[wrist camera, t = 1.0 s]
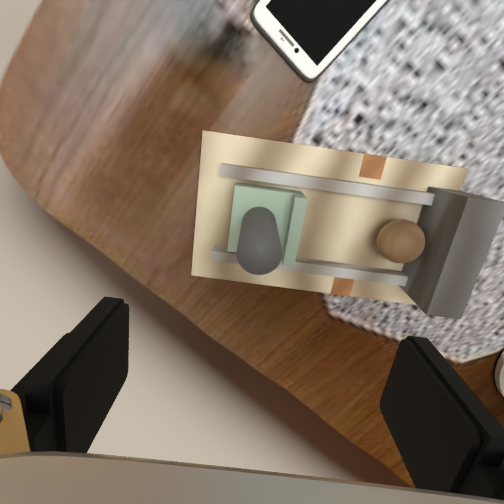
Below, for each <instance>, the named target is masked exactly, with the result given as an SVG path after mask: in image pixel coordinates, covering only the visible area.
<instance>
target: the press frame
mask: <svg viewBox="0 0 504 504" xmlns="http://www.w3.org/2000/svg"><path fill="white" fill-rule="evenodd" d="M467 170H468V169H466V168H459V167H452V166H445V165H438V164H432V163H425V162H418V161H411V160H404V159H397V158H390V157H383V156H376V155H369V154H362V153H355V152H348V151H341V150H334V149H328V148H321V147H314V146H307V145H300V144H293V143H286V142H279V141H272V140H265V139H258V138H251V137H244V136H237V135H230V134H224V133H217V132H210V131H203V134H202V147H201V159H200V172H199V185H198V197H197V210H196V222H195V235H194V247H193V260H192V272H191V275H193V276H201V277H208V278H216V279H223V280H231V281H239V282H246V283H254V284H261V285H269V286H276V287H284V288H292V289H299V290H307V291H314V292H322V293H330V294H334V295H342V296H349V297H350V296H352V297H360V298H368V299H375V300H383V301H390V302H398V303H406V304H413V305H418V306H419V307H420V308H421V310H422V311H423V312H424V313H425V314H426V315H433V316H441V317H448V318H456V319H461V318H462V315H463V313H464V310H465V308H466V305H467V303H468V300H469V298H470V295H471V293H472V290H473V288H474V285H475V283H476V280H477V278H478V275H479V273H480V270H481V268H482V265H483V263H484V261H485V258H486V256H487V253H488V251H489V248H490V246H491V243H492V241H493V238H494V236H495V233H496V231H497V228H498V226H499V223H500V221H501V218H502V216H503V213H504V202H501V201H497V200H494V199H490V198H486V197H482V196H478V195H474V194H470V193H466V192H463V191H460V190H461V187H462V184H463V181H464V178H465V176H466V173H467ZM236 182H239V183H246V184H253V185H260V186H268V187H275V188H282V189H289V190H296V191H302V193H303V194H304V195H305V196H306V198H307V204H306V209H305V215H304V220H303V225H302V230H301V235H300V240H299V245H298V251H297V256H296V261H295V266H294V267H287V266H283V264H282V259H281V262H280V264H279V265H278V267H277V268H276V269H275V270H273V271H272V272H270V273H268V274H264V275H254V274H251V273H249V272H247V271H245V270H244V269H243V268H242V267H241V266H240V264H239V263H238V260H237V256H236V252H228V251H227V249H228V241H229V232H230V224H231V215H232V207H233V198H234V190H235V184H236Z"/></svg>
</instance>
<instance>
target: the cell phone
mask: <svg viewBox="0 0 504 504" xmlns="http://www.w3.org/2000/svg"><path fill="white" fill-rule="evenodd" d="M388 1H389V0H257V2H256V3H255V4H254V6H253V8H252V10H251V20H252V23H253V24H254V26H255V27H256V29H257V30H258V31H259V32H260V33H261V34H262V36H263V37H264V38H265V39H266V40H267V41H268V42H269V43H270V44H271V46H272V47H273V48H274V49H275V50H276V51H277V52H278V53H279V55H280V56H281V57H282V58H283V59H284V60H285V61H286V62H287V64H288V65H289V66H290V67H291V68H292V69H293V70H294V71H295V73H296V74H297V75H298V76H299V77H300V78H301V79H302V80H304V81H305V82H308V83H311V82H313V81H315V80H316V79H317V78H318V77H319V76H320V75H321V74H322V73H323V72H324V71H325V70H326V69H327V68H328V67H329V66H330V65H331V64H332V62H333V61H334V60H335V59H336V58H337V57H338V56H339V55H340V54H341V53H342V52H343V50H344V49H345V48H346V47H347V46H348V45H349V44H350V43H351V42H352V41H353V40H354V38H356V36H357V35H358V34H359V33H360V32H361V31H362V30H363V29H364V28H365V27H366V25H367V24H368V23H369V22H370V21H371V20H372V19H373V18H374V17H375V16H376V14H377V13H378V12H379V11H380V10H381V9H382V8H383V7H384V6H385V5H386V3H387V2H388ZM257 3H258V4H257Z"/></svg>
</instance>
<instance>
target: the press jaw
mask: <svg viewBox="0 0 504 504" xmlns="http://www.w3.org/2000/svg"><path fill="white" fill-rule="evenodd" d="M306 204H307V198H306V196H305V195H304V194H303V193H302V191H296V190H289V189H282V188H275V187H268V186H260V185H253V184H246V183H239V182H236V184H235V190H234V198H233V207H232V215H231V224H230V232H229V241H228V249H227V251H228V252H236V256H237V260H238V263H239V264H240V266H241V267H242V268H243V269H244V270H245V271H247V272H249V273H251V274H254V275H264V274H268V273H270V272H272V271H273V270H275V269H276V268H277V267H278V265H279V264H280V262H281V259H282V264H283V266H287V267H294V266H295V261H296V256H297V251H298V245H299V240H300V235H301V230H302V225H303V220H304V215H305V209H306Z"/></svg>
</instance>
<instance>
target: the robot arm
mask: <svg viewBox="0 0 504 504" xmlns="http://www.w3.org/2000/svg"><path fill="white" fill-rule="evenodd" d="M128 350H129V305H128V304H125V303H124V300H123V299H120V298H112V297H104V298H103V299H102V300H101V301H100V302H99V303H98V304H97V305H96V306H95V307H94V308H93V309H92V310H91V311H90V312H89V314H87V316H86V317H85V318H84V319H83V320H82V321H81V322H80V323H79V324H78V325H77V326H76V327H75V328H74V329H73V330H72V331H71V332H70V333H67V334H65V335H64V336H63V337H62V338H61V339H60V340H59V341H58V342H57V343H56V344H55V345H54V346H53V347H52V348H51V349H50V350H49V351H48V352H47V353H46V354H45V355H44V356H43V358H41V360H40V361H39V362H38V363H37V364H36V365H35V366H34V367H33V368H32V369H31V370H30V371H29V372H28V373H27V374H26V375H25V376H24V377H23V378H22V379H21V380H20V381H19V382H18V383H17V384H16V385H15V386H14V388H13V389H11V390H10V391H9V390H4V389H0V504H504V427H503V426H502V425H501V424H500V423H499V422H498V420H497V419H496V418H495V417H494V416H493V415H492V413H491V412H490V411H489V410H488V409H487V408H486V406H485V405H484V404H483V403H482V402H481V401H480V399H479V398H478V397H477V396H476V395H475V394H474V392H473V391H472V390H471V389H470V388H469V386H468V385H467V384H466V383H465V382H464V381H463V379H462V378H461V377H460V376H459V375H458V374H457V372H456V371H455V370H454V369H453V368H452V367H451V365H450V364H449V363H448V362H447V361H446V360H445V358H444V357H443V356H442V355H441V354H440V352H439V351H438V350H437V349H436V348H435V347H434V345H433V344H432V343H431V342H430V341H429V340H428V339H427V338H423V337H415V336H408V337H407V338H406V339H403V340H402V341H401V342H400V344H399V347H398V350H397V353H396V356H395V359H394V362H393V365H392V367H391V370H390V373H389V376H388V379H387V382H386V385H385V388H384V391H383V393H382V396H381V399H380V410H381V413H382V415H383V417H384V419H385V421H386V424H387V426H388V428H389V430H390V432H391V435H392V437H393V439H394V441H395V443H396V445H397V448H398V450H399V452H400V454H401V456H402V459H403V461H404V463H405V465H406V467H407V470H408V472H409V474H410V476H411V478H412V481H413V483H414V485H415V487H416V488H408V487H400V486H391V485H383V484H374V483H366V482H357V481H349V480H340V479H331V478H321V477H313V476H304V475H295V474H286V473H277V472H268V471H259V470H250V469H241V468H231V467H222V466H213V465H203V464H192V463H184V462H175V461H165V460H156V459H146V458H134V457H125V456H114V455H103V454H90V453H87V451H88V449H89V448H90V446H91V444H92V442H93V440H94V438H95V436H96V434H97V433H98V431H99V429H100V427H101V425H102V423H103V421H104V420H105V418H106V415H107V414H108V412H109V410H110V408H111V406H112V405H113V403H114V401H115V399H116V397H117V395H118V393H119V392H120V390H121V388H122V386H123V384H124V382H125V380H126V377H127V374H128ZM495 382H496V386H497V388H498V390H499V392H500V394H501V395H502V396H503V397H504V351H503V352H502V354H501V356H500V358H499V360H498V362H497V365H496V369H495Z"/></svg>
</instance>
